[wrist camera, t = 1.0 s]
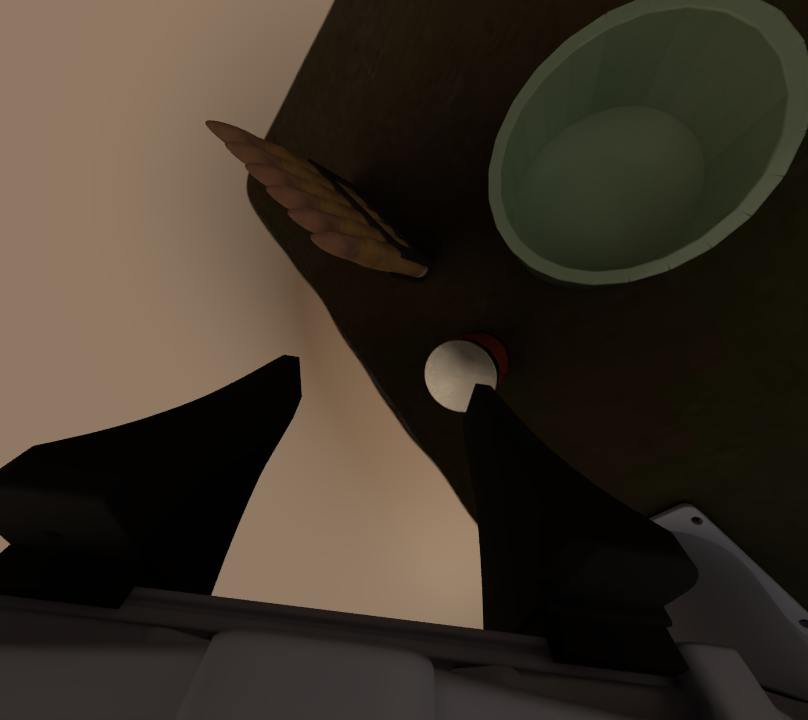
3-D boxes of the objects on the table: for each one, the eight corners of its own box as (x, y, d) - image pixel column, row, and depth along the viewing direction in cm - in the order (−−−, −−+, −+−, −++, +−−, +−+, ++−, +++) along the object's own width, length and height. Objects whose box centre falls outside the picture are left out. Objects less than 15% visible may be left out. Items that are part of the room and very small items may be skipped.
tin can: (523, 360, 21) (515, 379, 16) (480, 398, 23) (459, 426, 18) (479, 318, 22) (457, 323, 17) (441, 358, 24) (410, 374, 18)
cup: (773, 169, 14) (923, 80, 9) (589, 323, 19) (607, 332, 13) (603, 62, 16) (632, -68, 11) (474, 224, 21) (446, 194, 15)
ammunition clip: (435, 265, 23) (335, 232, 12) (420, 284, 23) (314, 268, 13) (350, 182, 25) (201, 92, 14) (339, 202, 25) (191, 130, 15)
